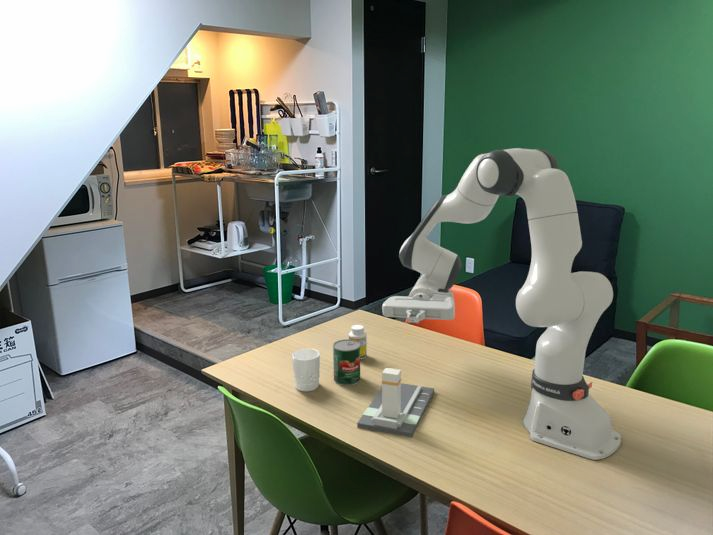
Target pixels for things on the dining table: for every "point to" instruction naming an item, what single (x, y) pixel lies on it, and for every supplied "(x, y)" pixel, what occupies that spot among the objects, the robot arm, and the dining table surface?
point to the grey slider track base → (409, 418)
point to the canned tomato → (346, 362)
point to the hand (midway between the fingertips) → (412, 320)
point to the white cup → (306, 369)
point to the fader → (391, 392)
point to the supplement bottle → (359, 339)
